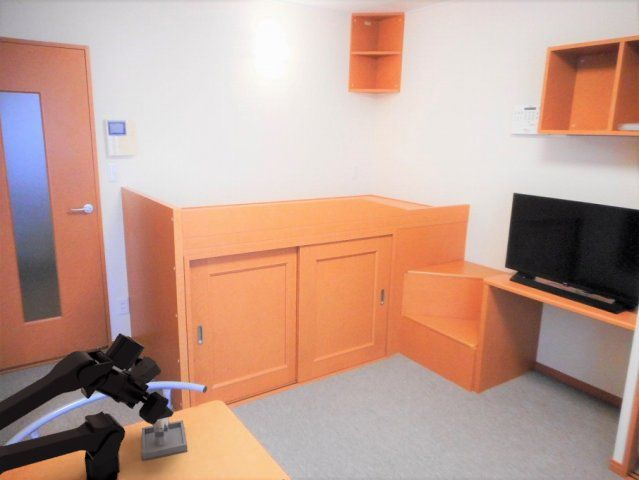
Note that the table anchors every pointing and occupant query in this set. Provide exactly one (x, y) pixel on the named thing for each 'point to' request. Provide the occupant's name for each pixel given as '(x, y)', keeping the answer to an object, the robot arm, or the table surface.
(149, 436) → the tray
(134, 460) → the table surface
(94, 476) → the robot arm
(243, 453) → the table surface
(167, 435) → the milkshake
